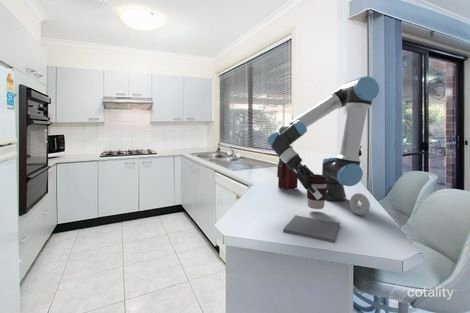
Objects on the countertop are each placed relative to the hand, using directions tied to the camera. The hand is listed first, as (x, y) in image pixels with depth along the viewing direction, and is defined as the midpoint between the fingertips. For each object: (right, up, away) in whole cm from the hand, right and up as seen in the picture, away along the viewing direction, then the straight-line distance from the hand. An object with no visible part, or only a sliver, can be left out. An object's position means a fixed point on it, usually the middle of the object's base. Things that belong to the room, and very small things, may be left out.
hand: (323, 195), depth 117 cm
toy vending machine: (-7, -3, +50) cm, 51 cm away
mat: (-10, -10, -18) cm, 23 cm away
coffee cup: (-3, -6, +2) cm, 7 cm away
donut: (+16, -9, -1) cm, 18 cm away
